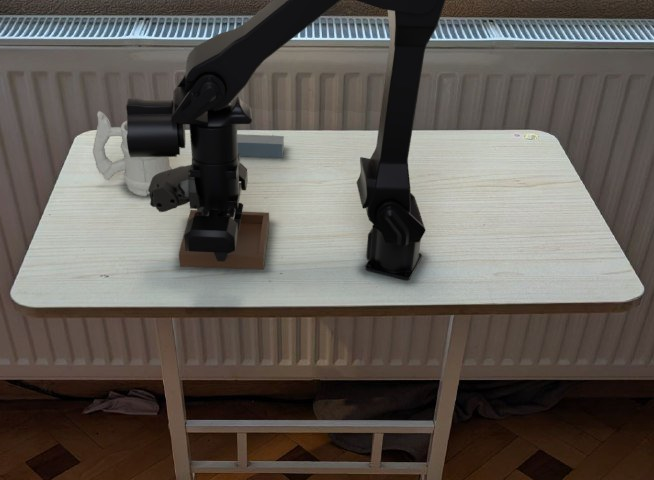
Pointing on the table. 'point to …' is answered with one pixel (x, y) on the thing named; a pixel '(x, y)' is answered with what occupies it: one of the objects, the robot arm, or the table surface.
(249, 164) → the table surface
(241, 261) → the tray
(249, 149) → the bar
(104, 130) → the mug
